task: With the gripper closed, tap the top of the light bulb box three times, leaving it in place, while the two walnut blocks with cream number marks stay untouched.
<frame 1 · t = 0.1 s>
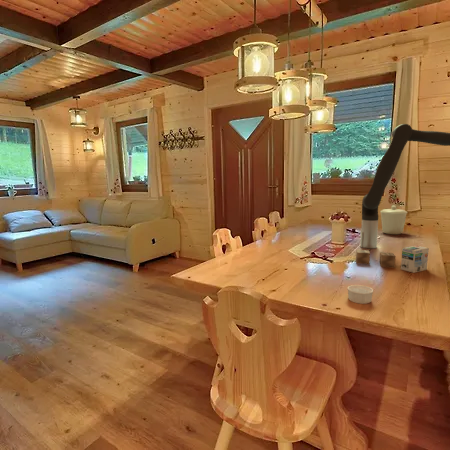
ramekin: (359, 300, 117), on the table
light bulb box: (413, 269, 150), on the table
walnut block one: (386, 265, 157), on the table
walnut block two: (362, 262, 163), on the table
canister: (392, 233, 236), on the table
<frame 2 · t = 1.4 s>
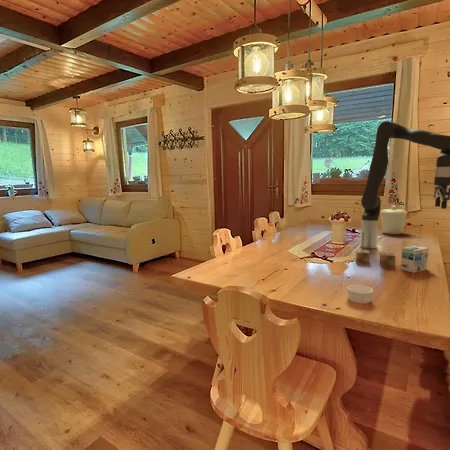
hand: (440, 207, 162), 28 cm above the table, tool pointing down, fingers open, 8 cm apart
nothing on the table moved.
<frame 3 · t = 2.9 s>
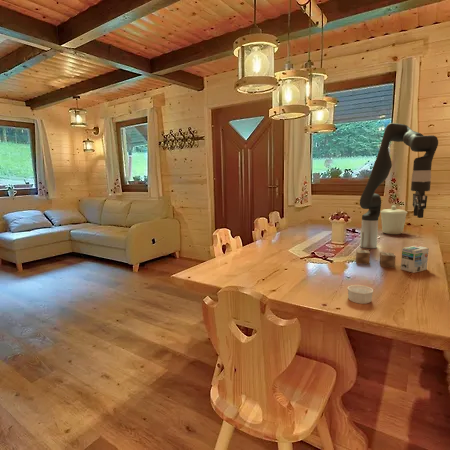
hand: (418, 216, 146), 26 cm above the table, tool pointing down, fingers open, 6 cm apart
nothing on the table moved.
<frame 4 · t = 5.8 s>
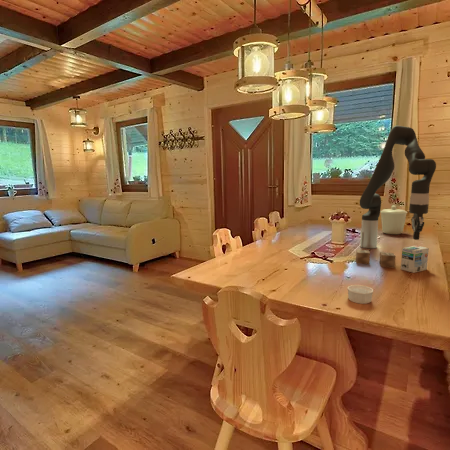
hand: (416, 239, 148), 15 cm above the table, tool pointing down, fingers closed
nothing on the table moved.
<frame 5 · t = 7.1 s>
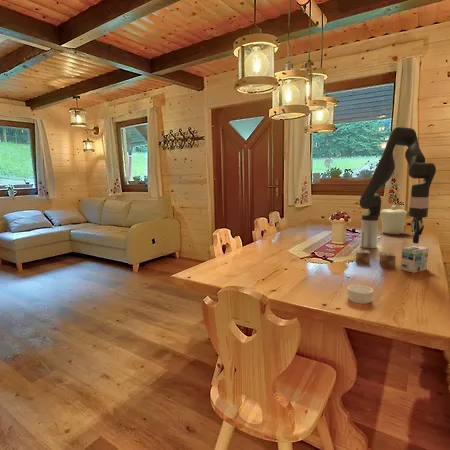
hand: (415, 242, 148), 13 cm above the table, tool pointing down, fingers closed
nothing on the table moved.
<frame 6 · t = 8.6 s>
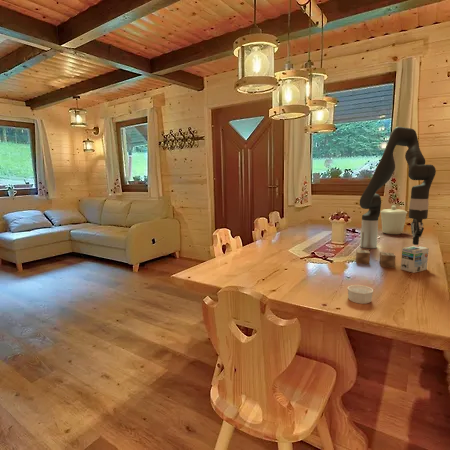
hand: (415, 244, 148), 12 cm above the table, tool pointing down, fingers closed
nothing on the table moved.
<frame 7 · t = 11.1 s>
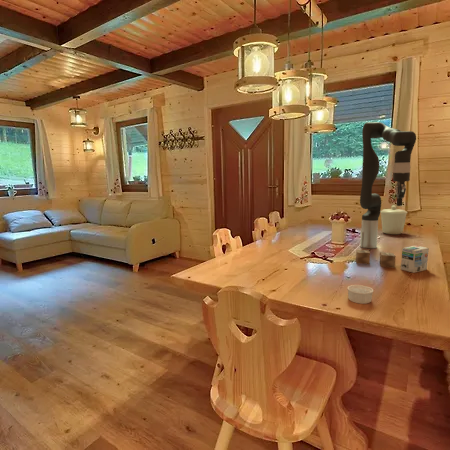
hand: (399, 205, 162), 29 cm above the table, tool pointing down, fingers closed
nothing on the table moved.
at the end: light bulb box moved 0.3 cm from its start; light bulb box tilted 0°; walnut block one moved 0.1 cm from its start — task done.
